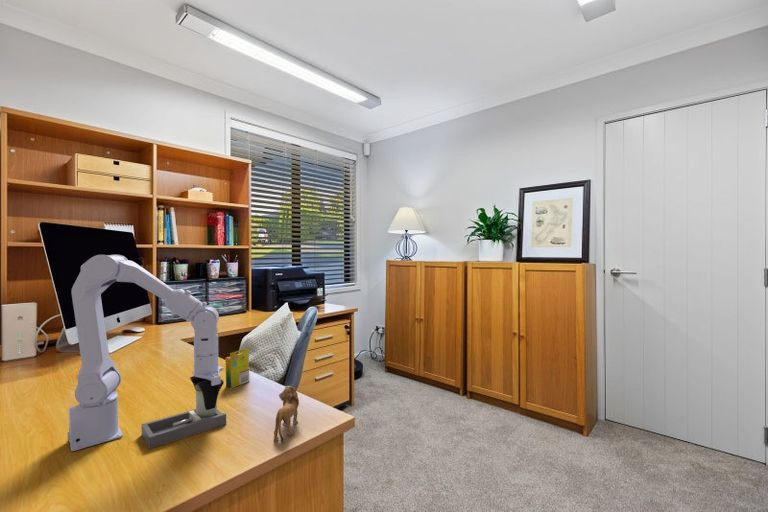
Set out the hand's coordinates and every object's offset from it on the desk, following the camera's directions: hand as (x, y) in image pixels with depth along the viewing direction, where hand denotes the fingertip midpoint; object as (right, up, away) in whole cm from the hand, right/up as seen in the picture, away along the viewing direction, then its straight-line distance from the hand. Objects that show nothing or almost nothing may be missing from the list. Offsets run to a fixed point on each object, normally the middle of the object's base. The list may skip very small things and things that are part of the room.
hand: (206, 405), depth 95 cm
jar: (0, -2, 0) cm, 2 cm away
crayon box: (-3, -4, +28) cm, 28 cm away
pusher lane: (-4, -5, -4) cm, 7 cm away
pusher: (-4, -4, -4) cm, 6 cm away
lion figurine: (+22, -5, -4) cm, 22 cm away
